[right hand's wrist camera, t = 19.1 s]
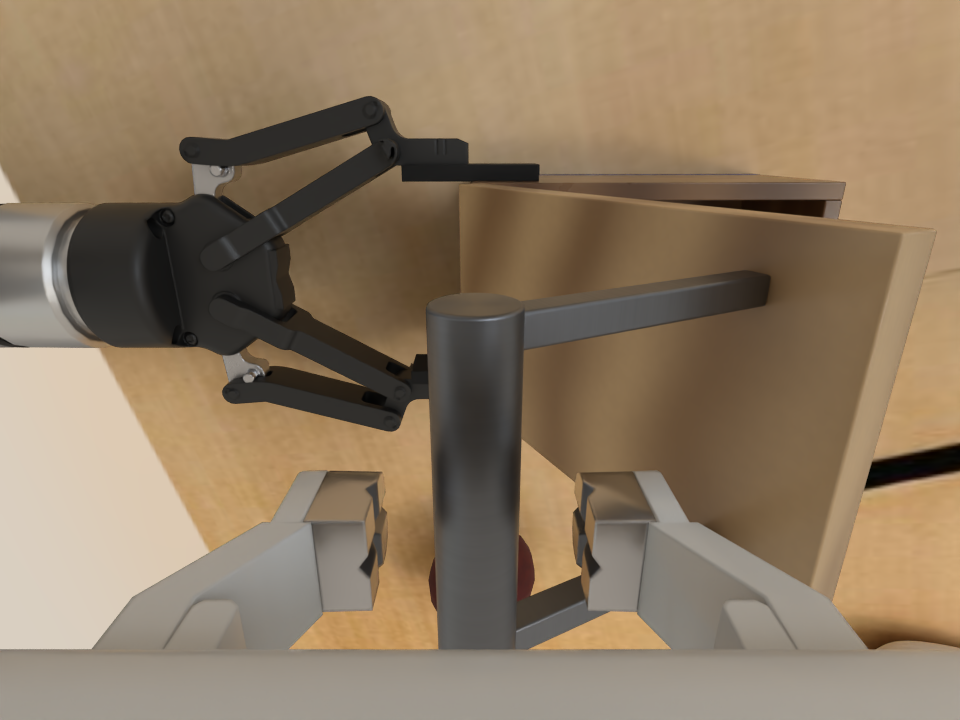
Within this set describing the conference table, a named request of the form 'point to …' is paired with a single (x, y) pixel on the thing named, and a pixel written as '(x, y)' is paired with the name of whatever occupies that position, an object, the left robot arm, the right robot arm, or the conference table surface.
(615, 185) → the chest
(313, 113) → the left robot arm
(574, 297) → the lid
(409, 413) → the conference table surface
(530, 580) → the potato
